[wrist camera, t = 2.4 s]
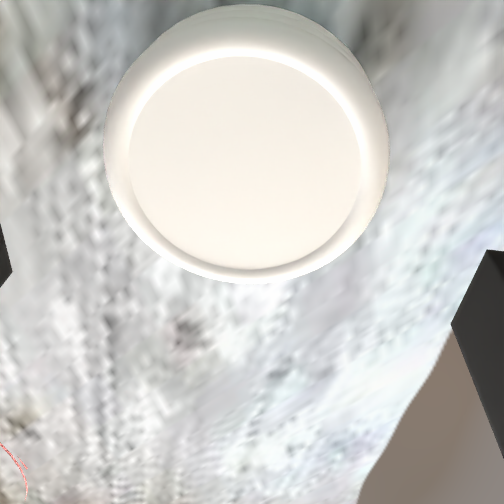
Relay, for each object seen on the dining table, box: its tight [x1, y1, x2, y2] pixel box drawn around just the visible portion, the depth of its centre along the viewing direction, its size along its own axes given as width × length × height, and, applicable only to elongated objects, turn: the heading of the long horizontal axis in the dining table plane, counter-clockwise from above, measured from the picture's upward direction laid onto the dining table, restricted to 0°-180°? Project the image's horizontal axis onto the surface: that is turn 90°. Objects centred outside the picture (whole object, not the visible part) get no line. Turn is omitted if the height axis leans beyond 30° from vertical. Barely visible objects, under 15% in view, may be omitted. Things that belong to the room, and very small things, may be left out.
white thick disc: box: [103, 4, 390, 284], centre depth 18 cm, size 10×10×4 cm
